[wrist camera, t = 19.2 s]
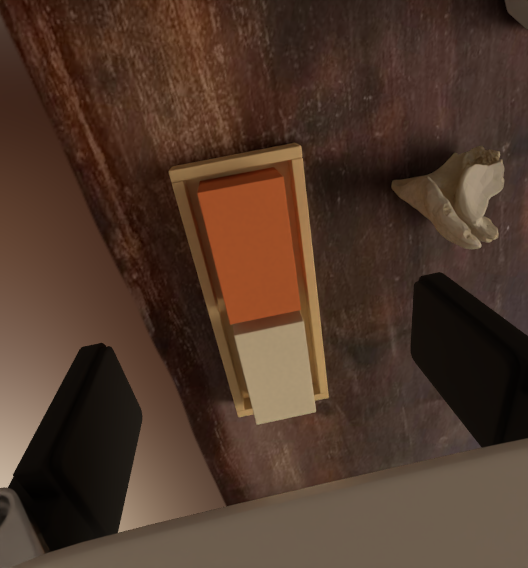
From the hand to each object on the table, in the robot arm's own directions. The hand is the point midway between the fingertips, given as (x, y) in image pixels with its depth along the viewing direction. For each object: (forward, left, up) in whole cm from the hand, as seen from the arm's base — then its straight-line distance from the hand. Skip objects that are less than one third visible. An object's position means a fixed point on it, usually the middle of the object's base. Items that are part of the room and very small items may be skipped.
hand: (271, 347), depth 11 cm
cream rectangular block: (+7, -12, -18) cm, 22 cm away
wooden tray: (+4, -7, -18) cm, 20 cm away
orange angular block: (+2, -2, -18) cm, 18 cm away
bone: (+15, +7, -18) cm, 24 cm away
